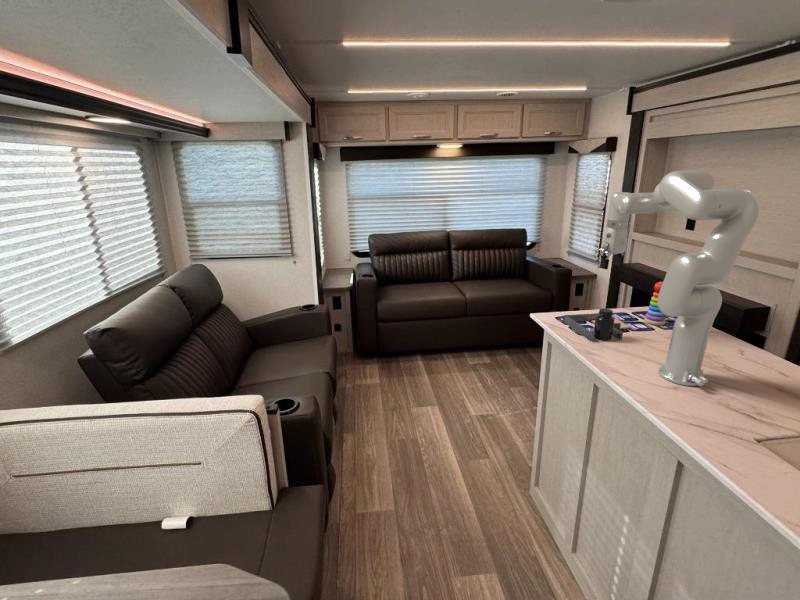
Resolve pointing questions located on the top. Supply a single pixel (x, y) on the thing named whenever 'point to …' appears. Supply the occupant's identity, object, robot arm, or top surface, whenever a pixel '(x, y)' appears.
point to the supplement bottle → (604, 325)
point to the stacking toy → (655, 309)
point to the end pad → (618, 322)
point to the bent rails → (572, 322)
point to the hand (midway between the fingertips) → (610, 266)
